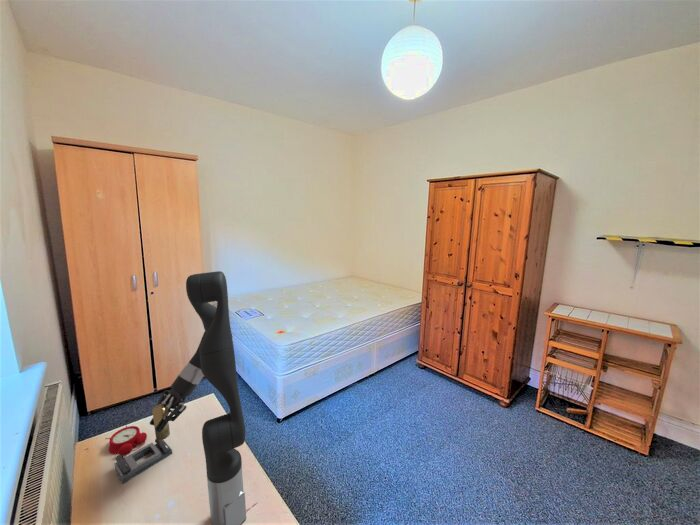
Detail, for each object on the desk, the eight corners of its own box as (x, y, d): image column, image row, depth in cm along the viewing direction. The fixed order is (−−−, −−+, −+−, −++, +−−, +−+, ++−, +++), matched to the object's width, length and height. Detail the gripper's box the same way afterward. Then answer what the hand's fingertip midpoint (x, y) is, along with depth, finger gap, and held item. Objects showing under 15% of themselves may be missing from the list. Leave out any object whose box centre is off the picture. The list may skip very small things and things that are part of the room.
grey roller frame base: (172, 454, 106) (171, 442, 105) (123, 484, 94) (121, 471, 93) (163, 442, 111) (161, 431, 110) (114, 470, 99) (112, 458, 98)
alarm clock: (129, 421, 117) (151, 425, 111) (133, 435, 118) (155, 440, 112) (99, 439, 108) (121, 445, 102) (104, 454, 109) (125, 461, 102)
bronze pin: (171, 434, 98) (168, 406, 96) (158, 442, 95) (154, 413, 93) (167, 429, 100) (163, 402, 98) (154, 436, 97) (150, 408, 95)
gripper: (172, 368, 104) (136, 416, 97) (189, 382, 96) (152, 436, 88) (188, 374, 109) (156, 420, 102) (206, 389, 101) (173, 440, 93)
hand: (154, 427), depth 95 cm, fingers closed on bronze pin, 4 cm apart
